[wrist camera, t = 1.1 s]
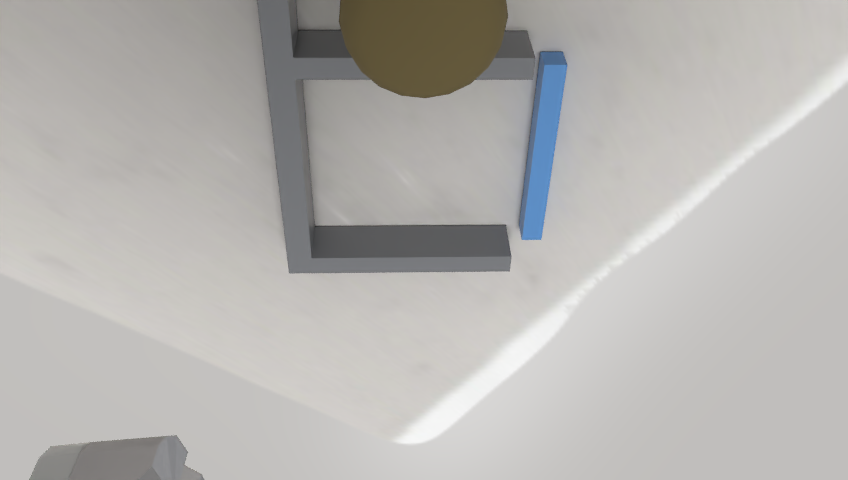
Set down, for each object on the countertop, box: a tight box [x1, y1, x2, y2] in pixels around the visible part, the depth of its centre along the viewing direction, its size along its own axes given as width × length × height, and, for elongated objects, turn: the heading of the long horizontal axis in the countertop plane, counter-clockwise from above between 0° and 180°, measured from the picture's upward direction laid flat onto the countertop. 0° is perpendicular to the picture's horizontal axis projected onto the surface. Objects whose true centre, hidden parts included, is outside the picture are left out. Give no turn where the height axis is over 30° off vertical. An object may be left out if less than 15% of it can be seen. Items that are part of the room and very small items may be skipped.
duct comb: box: [257, 0, 567, 273], centre depth 35 cm, size 13×23×2 cm, turn 179°
